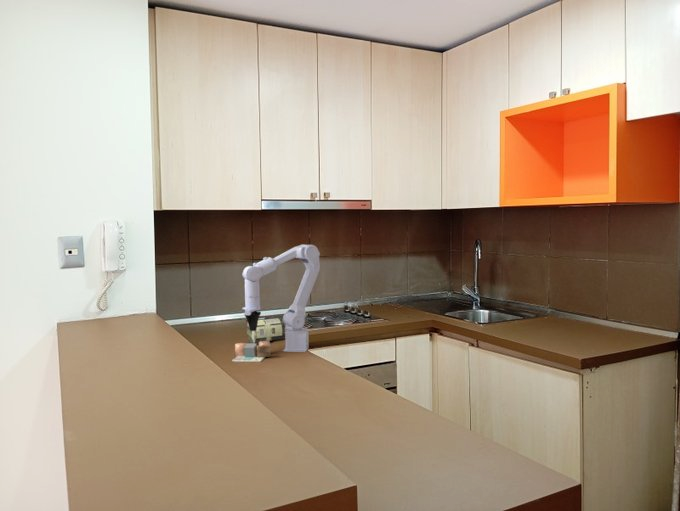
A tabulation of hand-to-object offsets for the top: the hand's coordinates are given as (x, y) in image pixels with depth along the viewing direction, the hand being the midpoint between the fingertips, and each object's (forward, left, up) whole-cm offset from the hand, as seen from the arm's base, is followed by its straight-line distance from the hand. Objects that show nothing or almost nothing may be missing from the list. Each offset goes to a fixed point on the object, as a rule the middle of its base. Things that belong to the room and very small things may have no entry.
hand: (253, 330), depth 215 cm
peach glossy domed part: (+5, +3, -9) cm, 11 cm away
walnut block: (-5, +4, -9) cm, 11 cm away
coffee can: (+7, -20, -5) cm, 22 cm away
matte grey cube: (0, +4, -9) cm, 10 cm away
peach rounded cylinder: (-4, -1, -9) cm, 10 cm away
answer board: (0, +4, -10) cm, 11 cm away
